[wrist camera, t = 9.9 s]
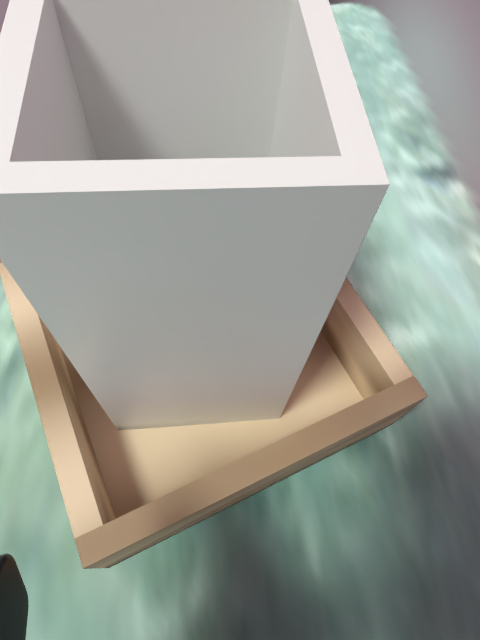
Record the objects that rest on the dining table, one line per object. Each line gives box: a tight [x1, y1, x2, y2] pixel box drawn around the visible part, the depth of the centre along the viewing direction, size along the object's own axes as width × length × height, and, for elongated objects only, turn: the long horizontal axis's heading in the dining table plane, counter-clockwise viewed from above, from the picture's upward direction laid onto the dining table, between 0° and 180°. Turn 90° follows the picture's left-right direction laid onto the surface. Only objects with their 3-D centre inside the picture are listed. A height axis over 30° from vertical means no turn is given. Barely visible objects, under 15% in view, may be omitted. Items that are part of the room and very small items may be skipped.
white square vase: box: [0, 0, 390, 430], centre depth 13 cm, size 6×6×12 cm
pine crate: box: [0, 260, 427, 569], centre depth 17 cm, size 12×12×4 cm
